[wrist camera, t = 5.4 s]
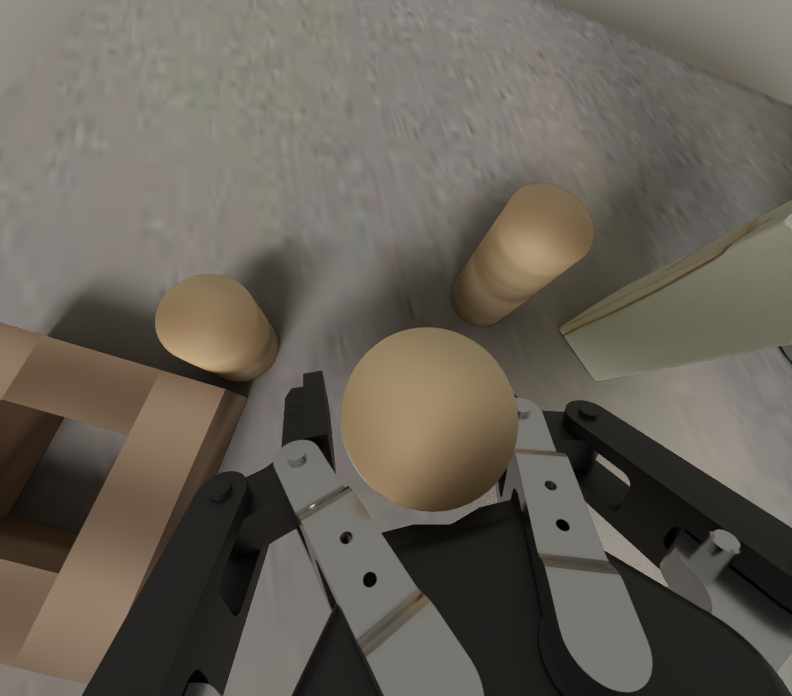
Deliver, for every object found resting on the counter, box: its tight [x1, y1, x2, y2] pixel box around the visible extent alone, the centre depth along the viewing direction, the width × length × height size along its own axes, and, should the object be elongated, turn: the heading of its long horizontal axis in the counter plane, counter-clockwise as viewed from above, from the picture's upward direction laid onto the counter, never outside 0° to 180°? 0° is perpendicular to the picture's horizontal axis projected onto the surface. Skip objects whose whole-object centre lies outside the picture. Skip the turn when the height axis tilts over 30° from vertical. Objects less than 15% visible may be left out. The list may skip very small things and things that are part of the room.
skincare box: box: [559, 200, 792, 381], centre depth 17 cm, size 6×4×12 cm
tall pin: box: [340, 327, 518, 512], centre depth 13 cm, size 4×4×12 cm
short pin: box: [155, 274, 279, 382], centre depth 17 cm, size 4×4×5 cm
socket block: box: [0, 323, 248, 684], centre depth 15 cm, size 11×11×4 cm
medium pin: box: [451, 183, 594, 326], centre depth 18 cm, size 4×4×8 cm
